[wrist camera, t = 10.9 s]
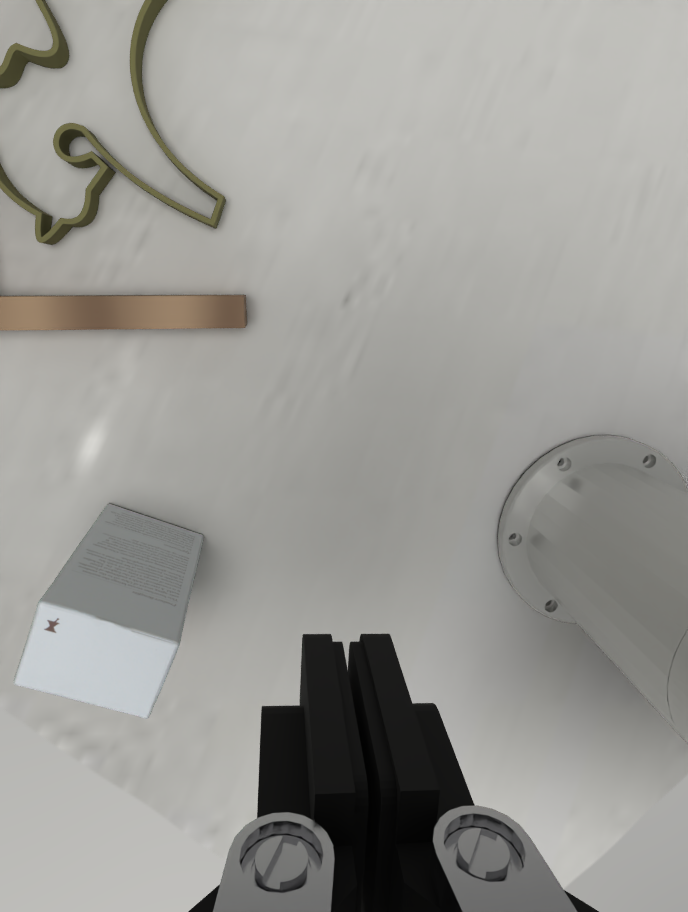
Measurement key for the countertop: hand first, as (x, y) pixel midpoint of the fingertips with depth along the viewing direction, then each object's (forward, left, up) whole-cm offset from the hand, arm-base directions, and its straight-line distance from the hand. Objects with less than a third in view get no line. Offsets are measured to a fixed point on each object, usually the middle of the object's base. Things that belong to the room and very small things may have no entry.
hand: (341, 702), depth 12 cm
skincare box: (+9, +8, -26) cm, 29 cm away
